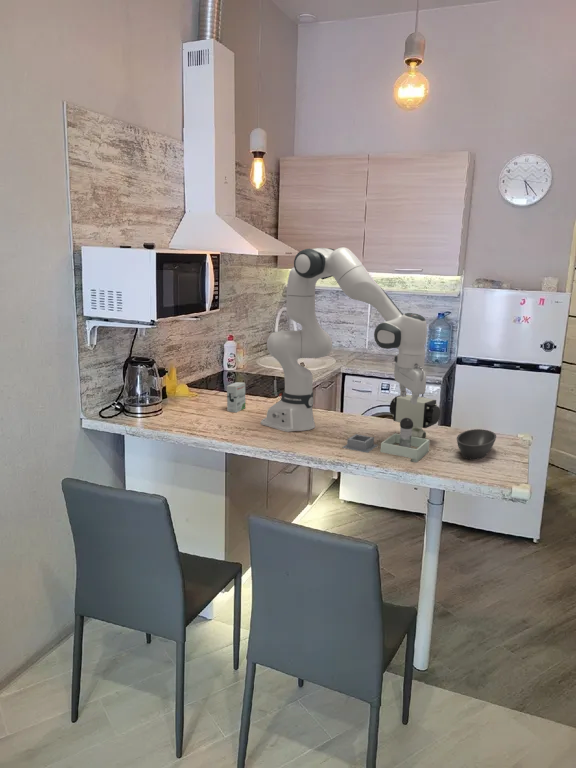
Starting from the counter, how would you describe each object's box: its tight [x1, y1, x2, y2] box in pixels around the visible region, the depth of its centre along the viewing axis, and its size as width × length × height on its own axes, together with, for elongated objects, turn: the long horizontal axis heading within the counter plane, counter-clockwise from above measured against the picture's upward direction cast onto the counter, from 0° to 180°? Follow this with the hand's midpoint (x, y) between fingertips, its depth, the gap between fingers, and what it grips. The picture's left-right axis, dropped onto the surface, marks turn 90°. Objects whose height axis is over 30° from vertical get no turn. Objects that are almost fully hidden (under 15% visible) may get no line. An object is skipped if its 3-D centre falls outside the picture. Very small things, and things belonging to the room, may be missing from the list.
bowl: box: [456, 428, 497, 461], centre depth 206 cm, size 12×22×6 cm, turn 145°
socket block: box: [342, 433, 379, 454], centre depth 209 cm, size 10×10×4 cm
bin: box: [380, 433, 430, 463], centre depth 205 cm, size 13×13×4 cm
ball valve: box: [389, 393, 441, 439], centre depth 220 cm, size 18×8×18 cm, turn 48°
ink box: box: [226, 381, 246, 414], centre depth 257 cm, size 9×5×12 cm, turn 155°
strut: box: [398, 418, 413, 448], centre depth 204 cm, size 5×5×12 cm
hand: (408, 400), depth 202 cm, fingers open, 8 cm apart
